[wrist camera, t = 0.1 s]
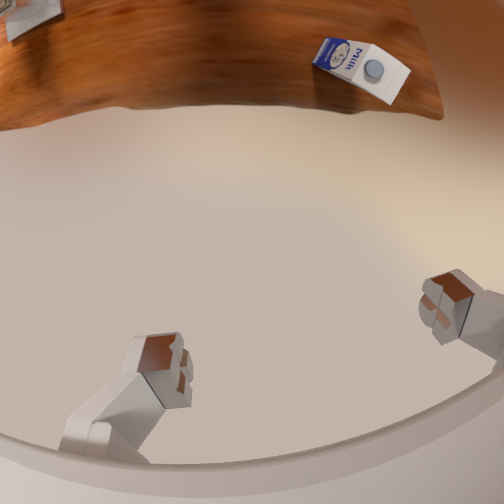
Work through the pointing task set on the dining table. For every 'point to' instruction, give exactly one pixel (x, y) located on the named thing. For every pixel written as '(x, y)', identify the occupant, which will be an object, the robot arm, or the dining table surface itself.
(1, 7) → the post
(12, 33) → the sleeve
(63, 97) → the dining table surface
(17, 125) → the dining table surface
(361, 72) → the milk carton
